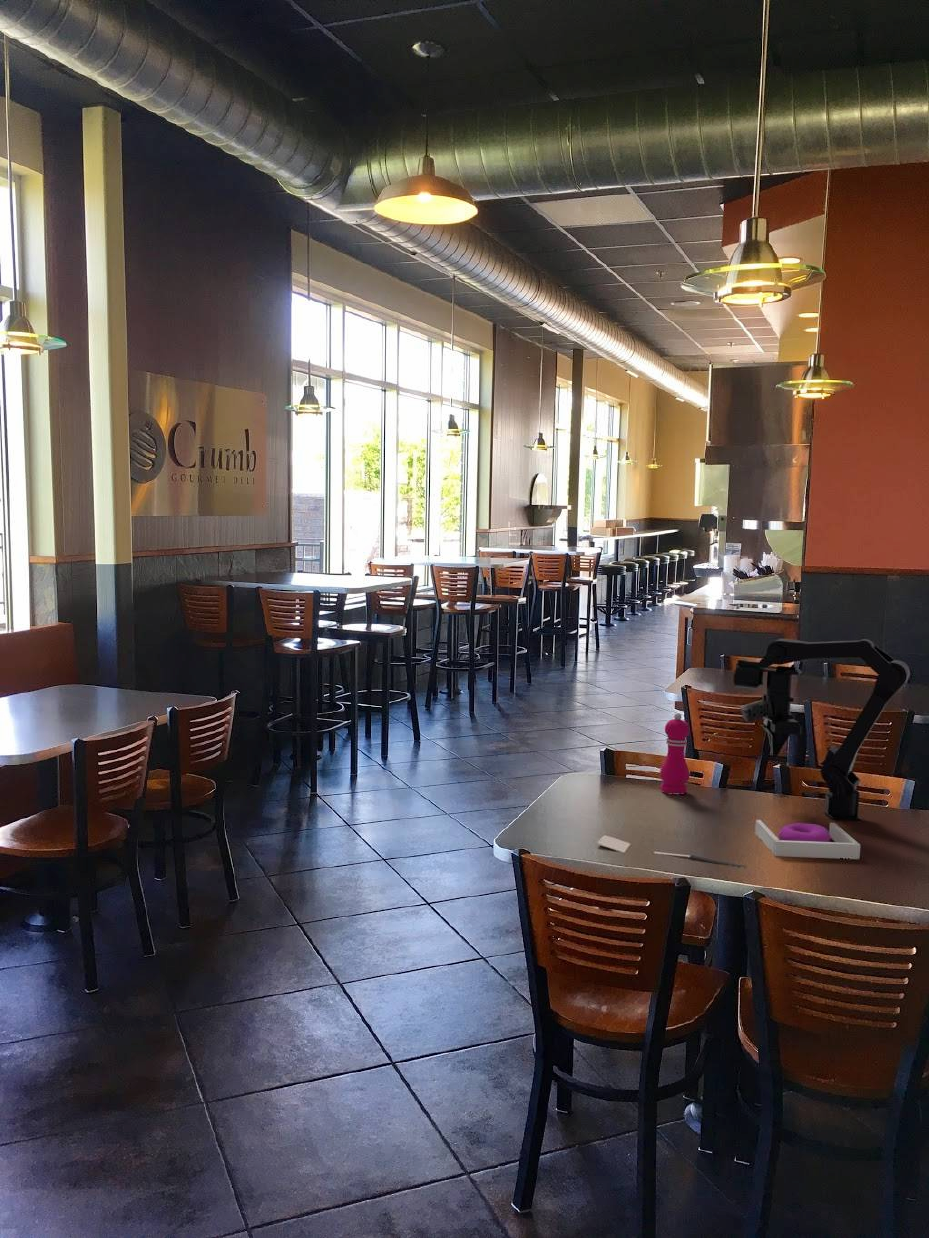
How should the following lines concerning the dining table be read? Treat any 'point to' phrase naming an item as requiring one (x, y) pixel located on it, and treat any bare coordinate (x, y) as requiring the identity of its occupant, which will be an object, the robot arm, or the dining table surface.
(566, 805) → the dining table surface
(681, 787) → the pepper mill
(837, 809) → the robot arm
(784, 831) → the donut
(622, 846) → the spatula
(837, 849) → the tray
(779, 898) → the dining table surface
